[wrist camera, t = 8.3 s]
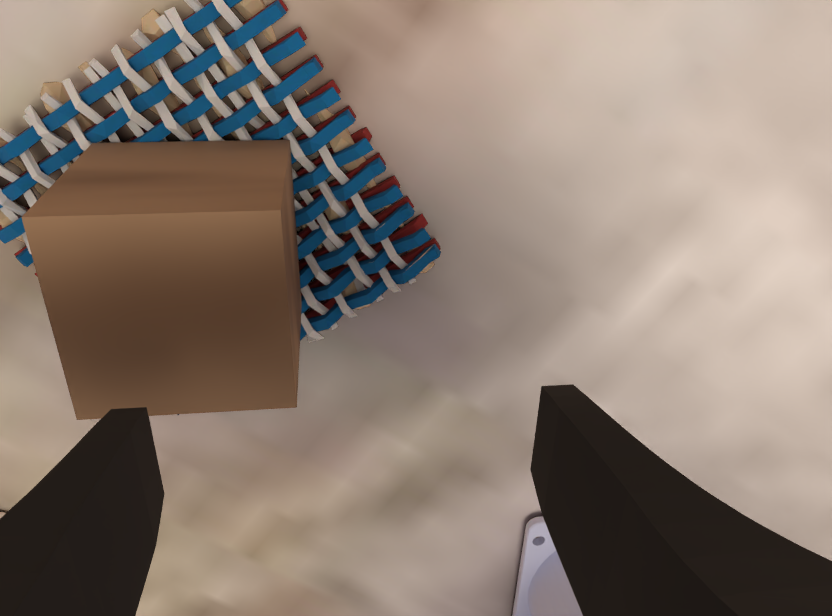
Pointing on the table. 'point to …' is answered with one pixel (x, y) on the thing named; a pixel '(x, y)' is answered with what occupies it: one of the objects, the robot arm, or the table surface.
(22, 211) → the woven mat
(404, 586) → the table surface
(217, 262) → the cube
